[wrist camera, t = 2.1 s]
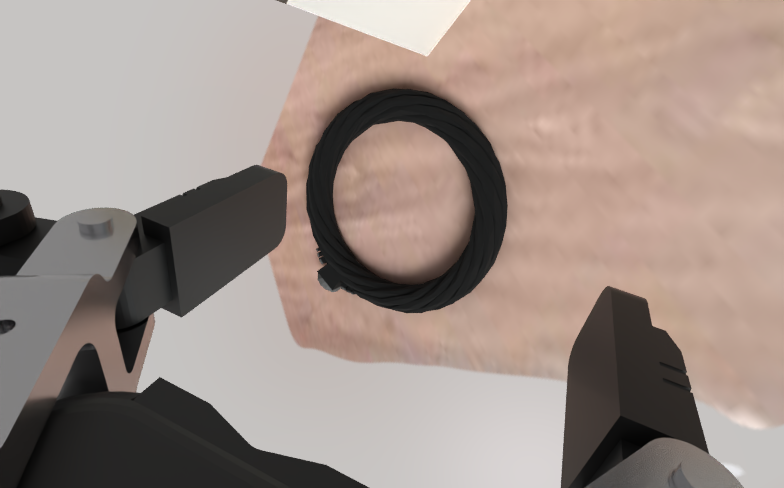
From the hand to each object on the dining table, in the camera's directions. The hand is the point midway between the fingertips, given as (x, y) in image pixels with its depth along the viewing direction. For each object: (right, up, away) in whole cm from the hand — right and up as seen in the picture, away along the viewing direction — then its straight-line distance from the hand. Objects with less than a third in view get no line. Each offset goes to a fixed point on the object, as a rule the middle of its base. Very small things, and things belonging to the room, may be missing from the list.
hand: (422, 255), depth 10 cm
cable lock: (0, +5, +44) cm, 45 cm away
